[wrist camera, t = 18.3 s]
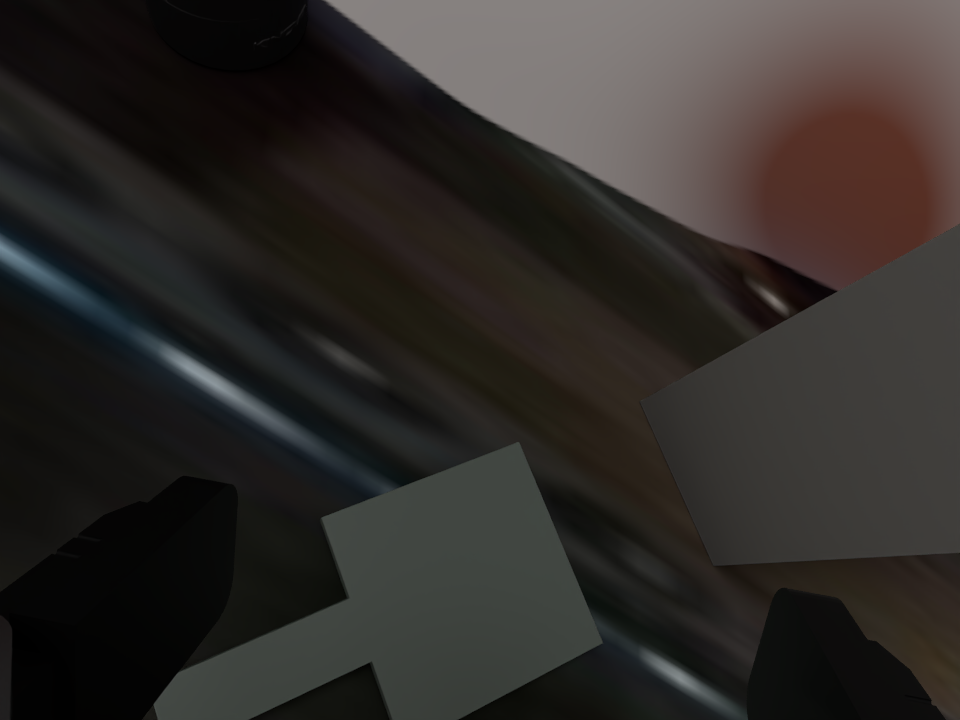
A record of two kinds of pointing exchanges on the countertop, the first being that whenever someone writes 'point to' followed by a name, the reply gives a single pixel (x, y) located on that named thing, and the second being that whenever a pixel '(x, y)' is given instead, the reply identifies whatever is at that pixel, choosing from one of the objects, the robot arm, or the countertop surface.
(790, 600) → the robot arm
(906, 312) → the dark grey block
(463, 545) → the lid
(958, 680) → the countertop surface
